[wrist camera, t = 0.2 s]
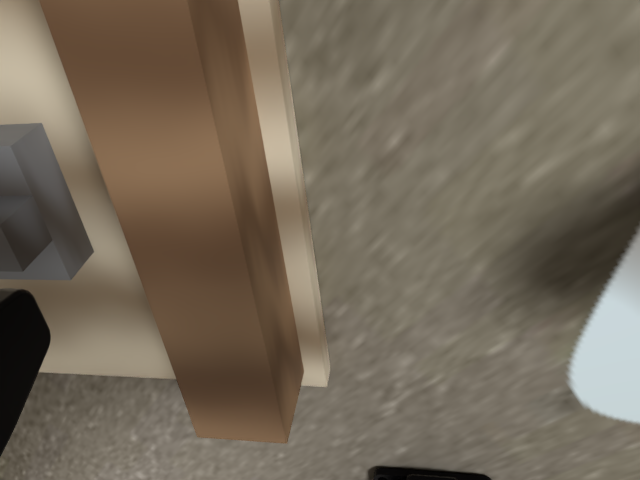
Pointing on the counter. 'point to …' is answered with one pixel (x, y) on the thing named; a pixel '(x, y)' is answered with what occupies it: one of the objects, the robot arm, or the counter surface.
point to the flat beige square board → (100, 216)
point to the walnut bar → (191, 198)
